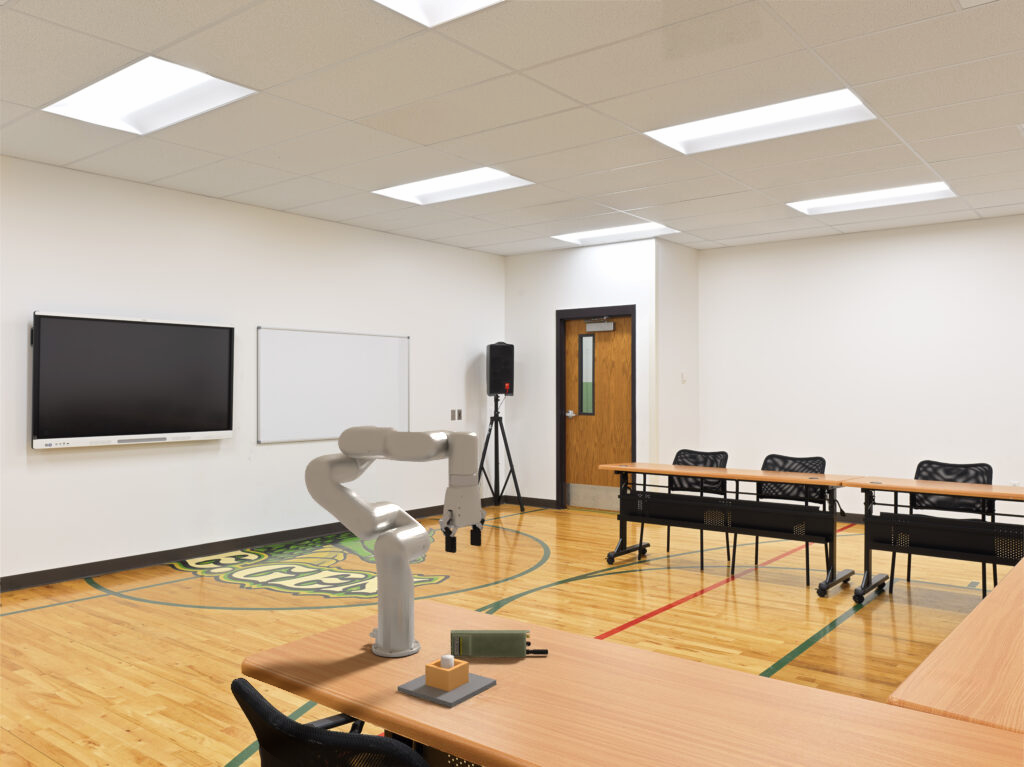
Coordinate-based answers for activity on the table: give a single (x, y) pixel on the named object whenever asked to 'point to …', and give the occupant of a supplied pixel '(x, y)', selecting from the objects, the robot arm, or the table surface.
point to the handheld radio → (492, 643)
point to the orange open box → (446, 675)
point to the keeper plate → (445, 697)
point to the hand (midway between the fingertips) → (463, 548)
